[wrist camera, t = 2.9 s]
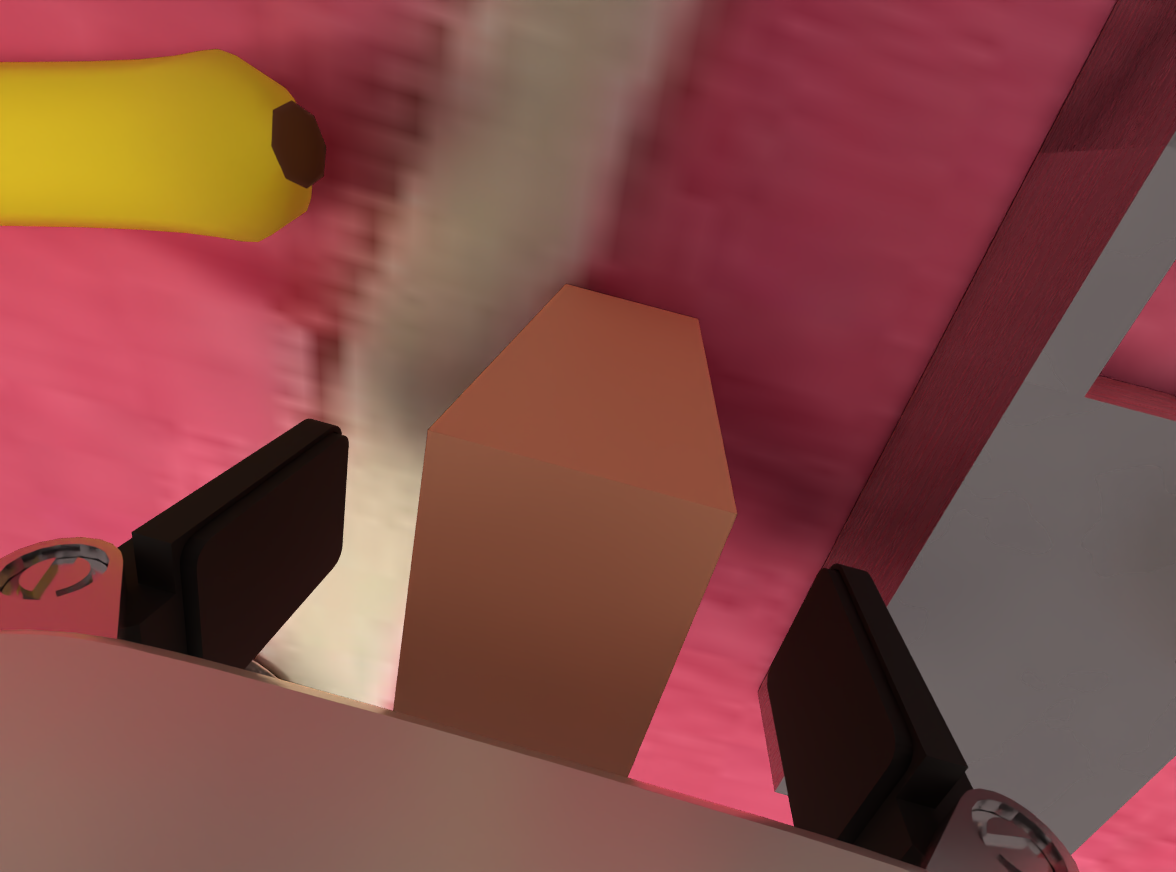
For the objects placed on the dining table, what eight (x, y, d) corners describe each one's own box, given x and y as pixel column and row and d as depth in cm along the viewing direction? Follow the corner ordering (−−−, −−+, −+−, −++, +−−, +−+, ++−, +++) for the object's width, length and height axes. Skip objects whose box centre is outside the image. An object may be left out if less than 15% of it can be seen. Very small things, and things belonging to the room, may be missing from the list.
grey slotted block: (1372, -487, 7) (1786, -877, 5) (1925, -356, 7) (2686, -677, 4) (757, 692, 17) (774, 791, 14) (991, 757, 17) (1054, 870, 14)
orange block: (566, 283, 13) (427, 429, 5) (698, 319, 13) (736, 514, 5) (505, 566, 16) (370, 886, 9) (608, 594, 16) (559, 940, 9)
